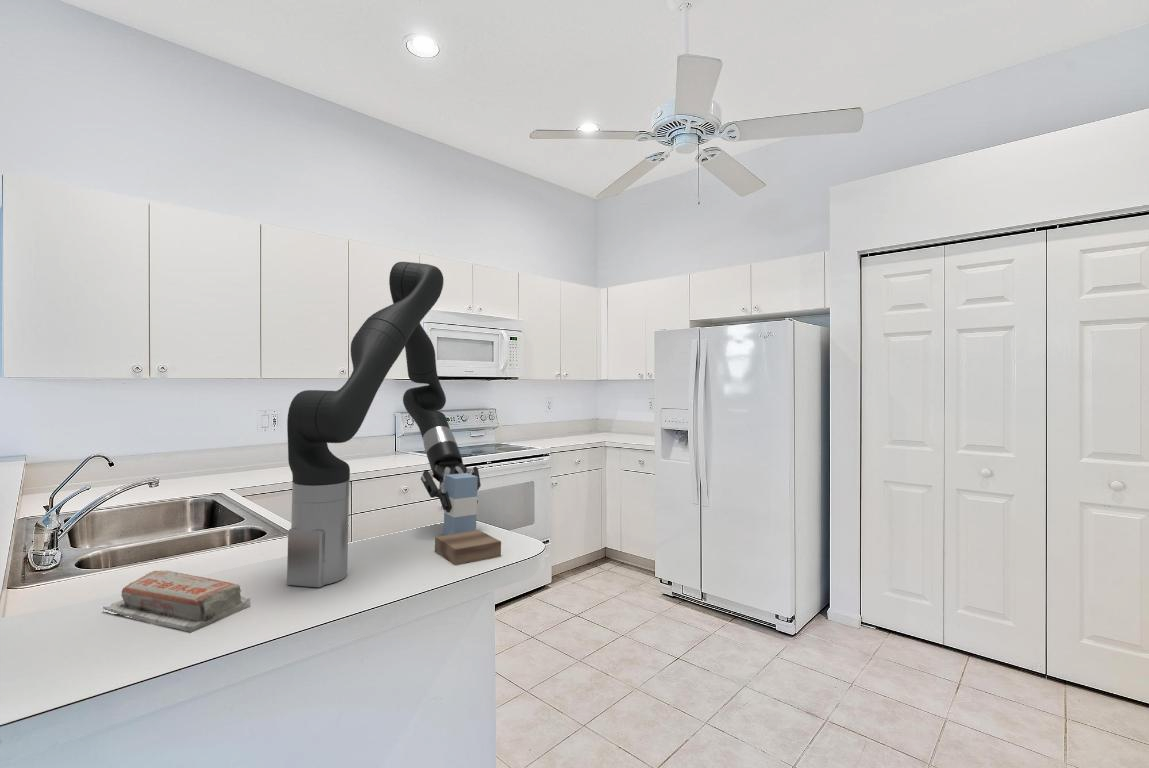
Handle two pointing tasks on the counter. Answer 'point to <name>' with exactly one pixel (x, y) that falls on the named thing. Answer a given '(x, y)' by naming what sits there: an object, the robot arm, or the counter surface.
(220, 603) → the packaged product
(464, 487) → the carton
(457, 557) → the podium
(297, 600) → the counter surface
